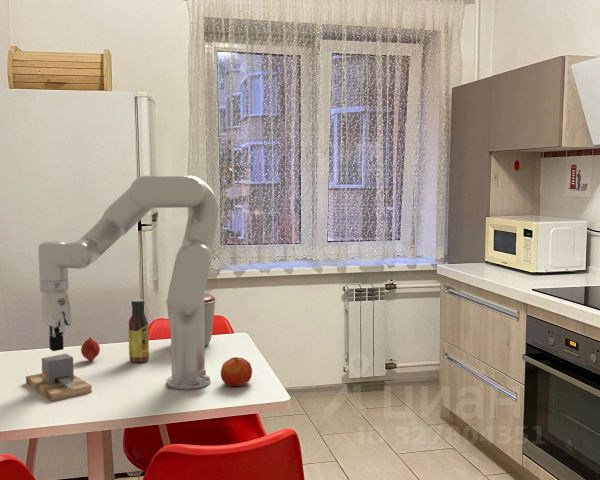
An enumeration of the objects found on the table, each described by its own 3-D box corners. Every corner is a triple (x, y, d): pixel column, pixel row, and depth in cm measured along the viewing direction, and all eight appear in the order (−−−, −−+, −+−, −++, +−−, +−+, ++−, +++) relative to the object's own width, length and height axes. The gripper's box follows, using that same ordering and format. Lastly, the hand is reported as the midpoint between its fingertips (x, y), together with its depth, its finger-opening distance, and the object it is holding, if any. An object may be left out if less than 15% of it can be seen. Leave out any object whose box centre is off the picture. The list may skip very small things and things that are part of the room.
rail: (74, 387, 179) (74, 382, 179) (66, 389, 177) (66, 384, 177) (50, 372, 192) (50, 367, 192) (42, 374, 191) (41, 369, 191)
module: (73, 380, 185) (72, 357, 185) (46, 386, 180) (46, 362, 180) (66, 376, 189) (66, 353, 188) (40, 381, 184) (39, 358, 183)
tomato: (223, 390, 183) (222, 363, 182) (218, 380, 191) (218, 354, 191) (255, 388, 185) (255, 360, 184) (249, 378, 194) (249, 352, 193)
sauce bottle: (146, 363, 208) (144, 302, 206) (126, 363, 208) (125, 302, 206) (151, 357, 215) (149, 298, 213) (132, 357, 215) (130, 298, 213)
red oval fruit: (77, 362, 210) (76, 337, 209) (90, 357, 215) (90, 333, 214) (90, 364, 207) (89, 339, 206) (103, 359, 212) (103, 335, 211)
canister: (200, 336, 243) (199, 280, 241) (227, 346, 229) (226, 287, 227) (156, 344, 232) (155, 285, 229) (181, 355, 218) (180, 293, 215)
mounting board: (91, 392, 181) (91, 385, 181) (52, 401, 174) (51, 394, 174) (63, 375, 196) (63, 368, 196) (26, 383, 189) (25, 376, 189)
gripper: (78, 287, 179) (80, 352, 181) (57, 280, 190) (59, 342, 192) (51, 291, 174) (53, 357, 176) (31, 283, 185) (33, 346, 187)
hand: (56, 349), depth 184 cm, fingers closed
